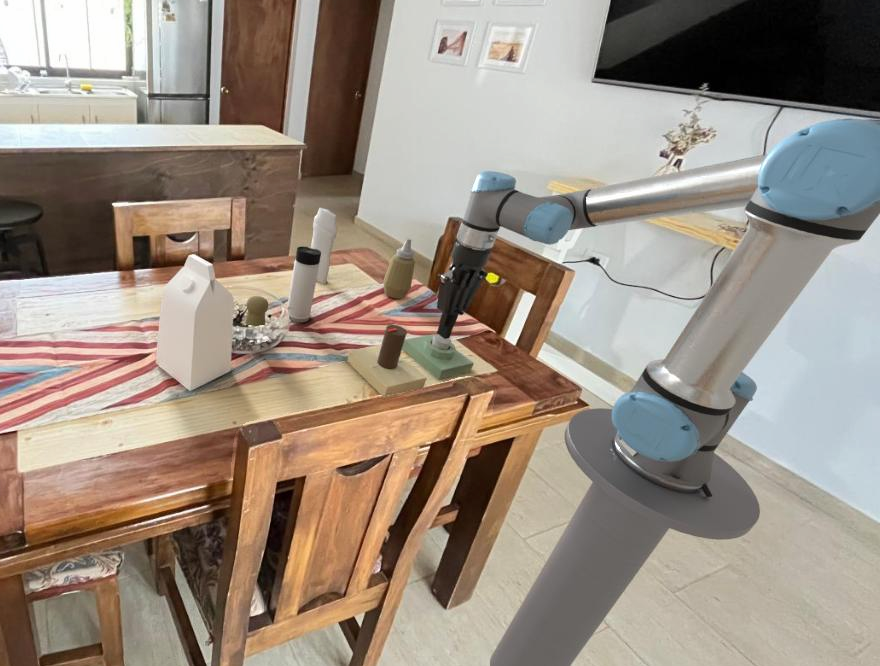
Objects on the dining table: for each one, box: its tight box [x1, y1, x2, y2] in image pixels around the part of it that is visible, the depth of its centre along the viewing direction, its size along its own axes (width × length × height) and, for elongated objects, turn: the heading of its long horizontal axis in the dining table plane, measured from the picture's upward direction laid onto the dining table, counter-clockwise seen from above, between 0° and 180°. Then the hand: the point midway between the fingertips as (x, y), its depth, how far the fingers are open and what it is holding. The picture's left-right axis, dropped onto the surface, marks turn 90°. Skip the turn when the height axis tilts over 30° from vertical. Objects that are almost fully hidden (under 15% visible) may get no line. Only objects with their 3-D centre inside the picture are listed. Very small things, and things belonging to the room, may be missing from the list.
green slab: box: [402, 333, 475, 380], centre depth 124 cm, size 13×10×4 cm
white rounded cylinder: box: [310, 207, 338, 285], centre depth 155 cm, size 11×4×22 cm, turn 29°
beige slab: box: [346, 343, 427, 397], centre depth 117 cm, size 14×11×3 cm
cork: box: [244, 295, 269, 326], centre depth 124 cm, size 6×6×11 cm
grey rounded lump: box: [432, 333, 452, 350], centre depth 123 cm, size 4×4×2 cm
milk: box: [155, 253, 235, 392], centre depth 107 cm, size 12×12×26 cm
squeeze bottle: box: [383, 238, 416, 300], centre depth 151 cm, size 8×8×18 cm
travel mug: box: [286, 246, 321, 323], centre depth 133 cm, size 6×7×20 cm
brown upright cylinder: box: [377, 324, 408, 369], centre depth 114 cm, size 4×4×9 cm
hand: (443, 335), depth 122 cm, fingers closed
